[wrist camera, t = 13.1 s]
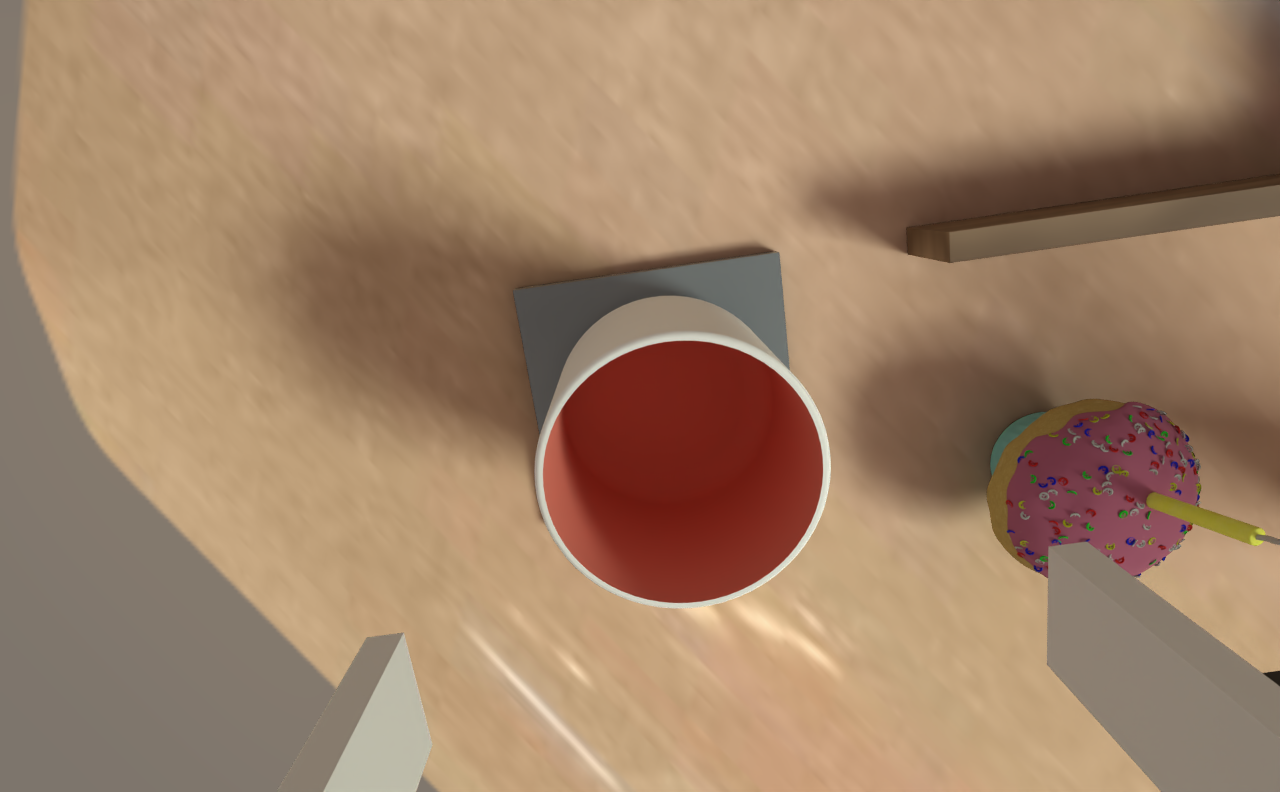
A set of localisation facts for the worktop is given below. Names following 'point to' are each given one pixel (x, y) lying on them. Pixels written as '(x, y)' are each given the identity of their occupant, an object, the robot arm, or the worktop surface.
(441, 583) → the worktop surface
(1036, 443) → the cupcake
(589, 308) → the coaster
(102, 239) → the worktop surface
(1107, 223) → the frame
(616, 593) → the cup
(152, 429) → the worktop surface
